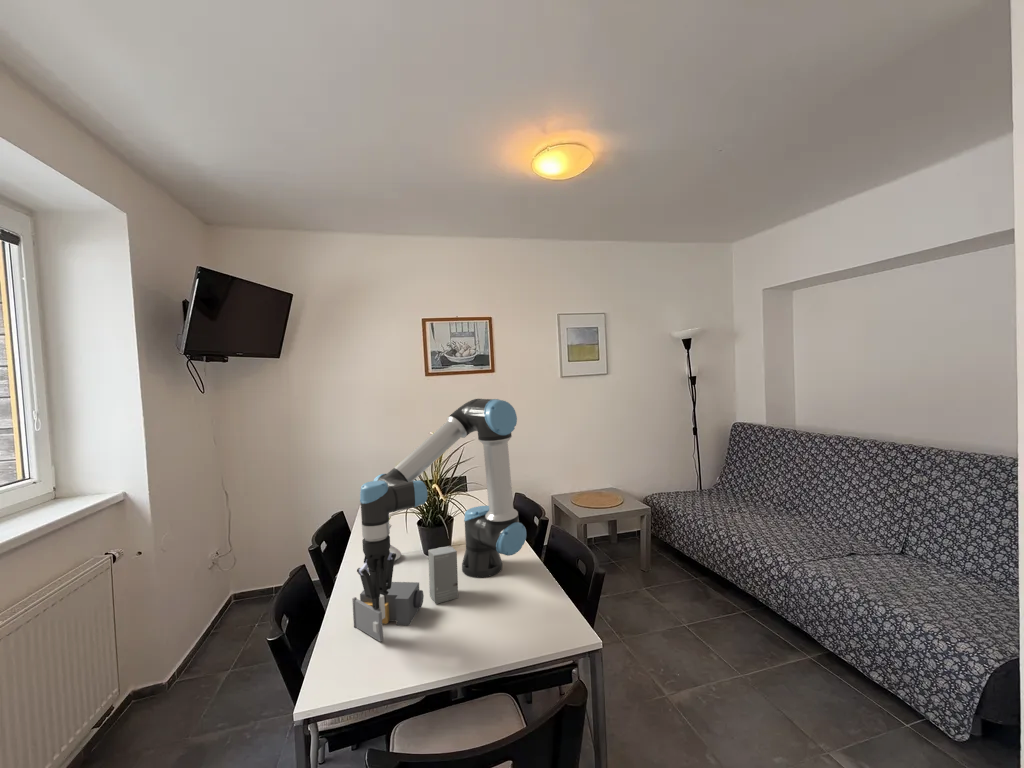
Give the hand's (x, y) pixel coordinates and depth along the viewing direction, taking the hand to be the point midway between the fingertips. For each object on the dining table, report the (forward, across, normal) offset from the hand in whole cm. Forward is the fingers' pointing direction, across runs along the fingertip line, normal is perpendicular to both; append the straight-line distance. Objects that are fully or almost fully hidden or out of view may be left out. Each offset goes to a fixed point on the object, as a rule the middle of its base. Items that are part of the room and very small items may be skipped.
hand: (379, 617), depth 126 cm
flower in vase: (+5, -37, -37) cm, 53 cm away
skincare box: (+5, -25, +3) cm, 26 cm away
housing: (+5, -8, -4) cm, 11 cm away
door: (+5, +2, -3) cm, 6 cm away
